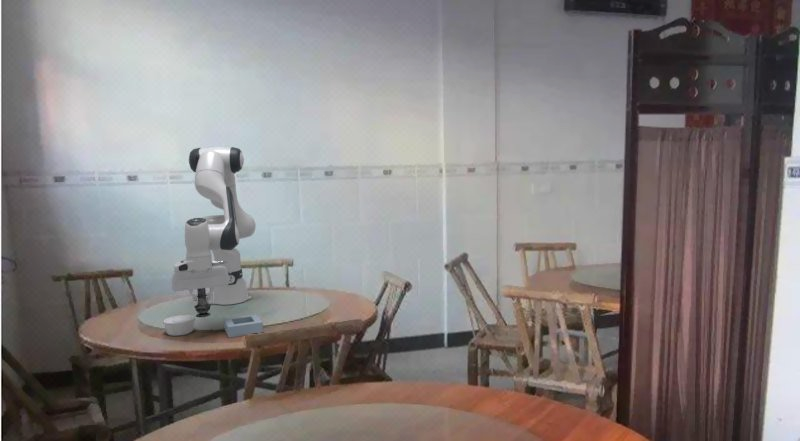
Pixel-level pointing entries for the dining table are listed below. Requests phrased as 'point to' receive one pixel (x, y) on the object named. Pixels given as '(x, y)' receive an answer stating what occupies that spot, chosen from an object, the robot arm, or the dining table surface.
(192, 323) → the ramekin
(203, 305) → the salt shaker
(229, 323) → the caddy block
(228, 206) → the robot arm
